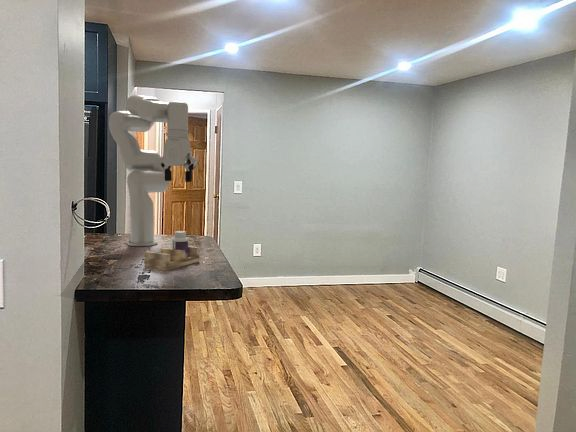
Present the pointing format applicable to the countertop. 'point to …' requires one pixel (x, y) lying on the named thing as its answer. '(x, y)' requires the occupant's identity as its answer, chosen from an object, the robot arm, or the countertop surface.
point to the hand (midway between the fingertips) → (178, 181)
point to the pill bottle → (180, 242)
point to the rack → (171, 258)
